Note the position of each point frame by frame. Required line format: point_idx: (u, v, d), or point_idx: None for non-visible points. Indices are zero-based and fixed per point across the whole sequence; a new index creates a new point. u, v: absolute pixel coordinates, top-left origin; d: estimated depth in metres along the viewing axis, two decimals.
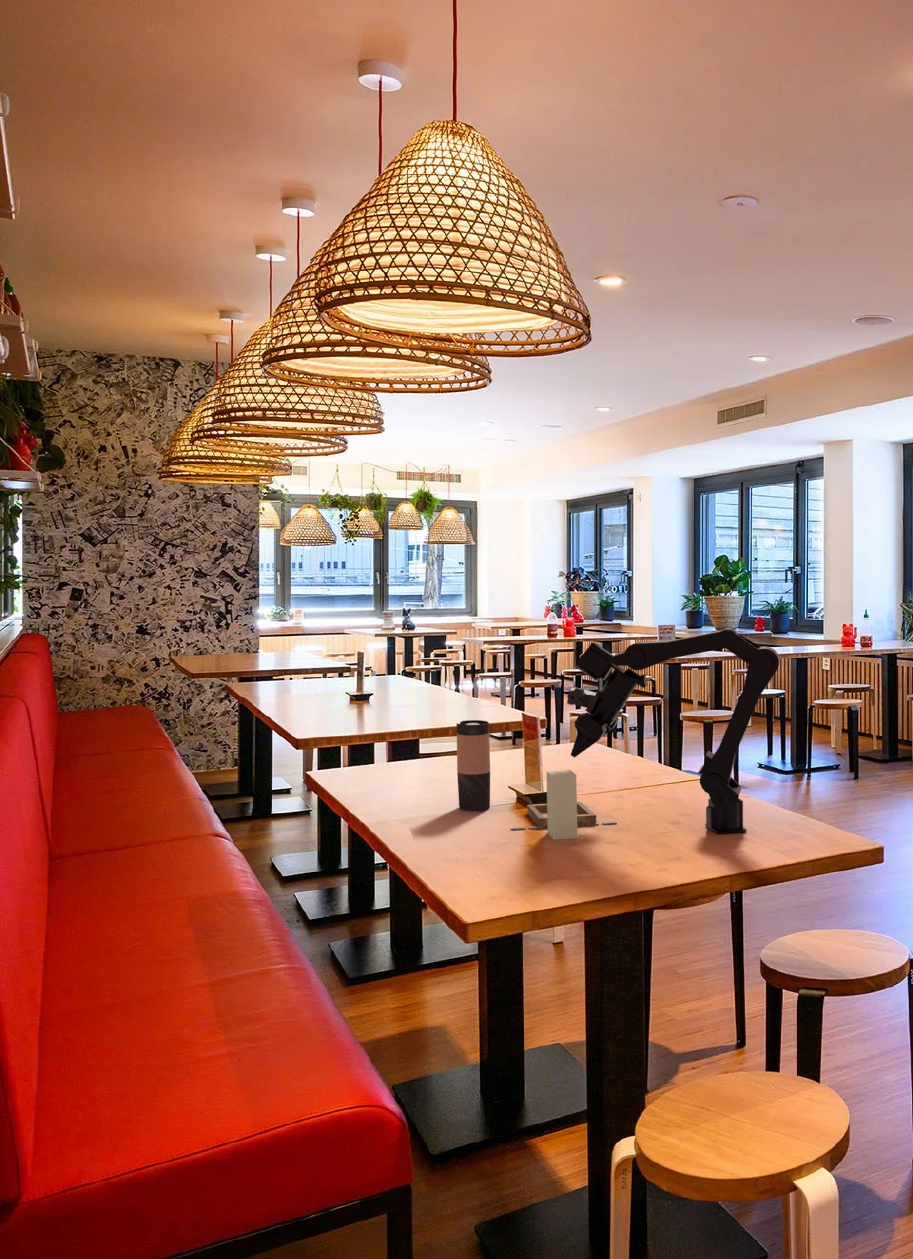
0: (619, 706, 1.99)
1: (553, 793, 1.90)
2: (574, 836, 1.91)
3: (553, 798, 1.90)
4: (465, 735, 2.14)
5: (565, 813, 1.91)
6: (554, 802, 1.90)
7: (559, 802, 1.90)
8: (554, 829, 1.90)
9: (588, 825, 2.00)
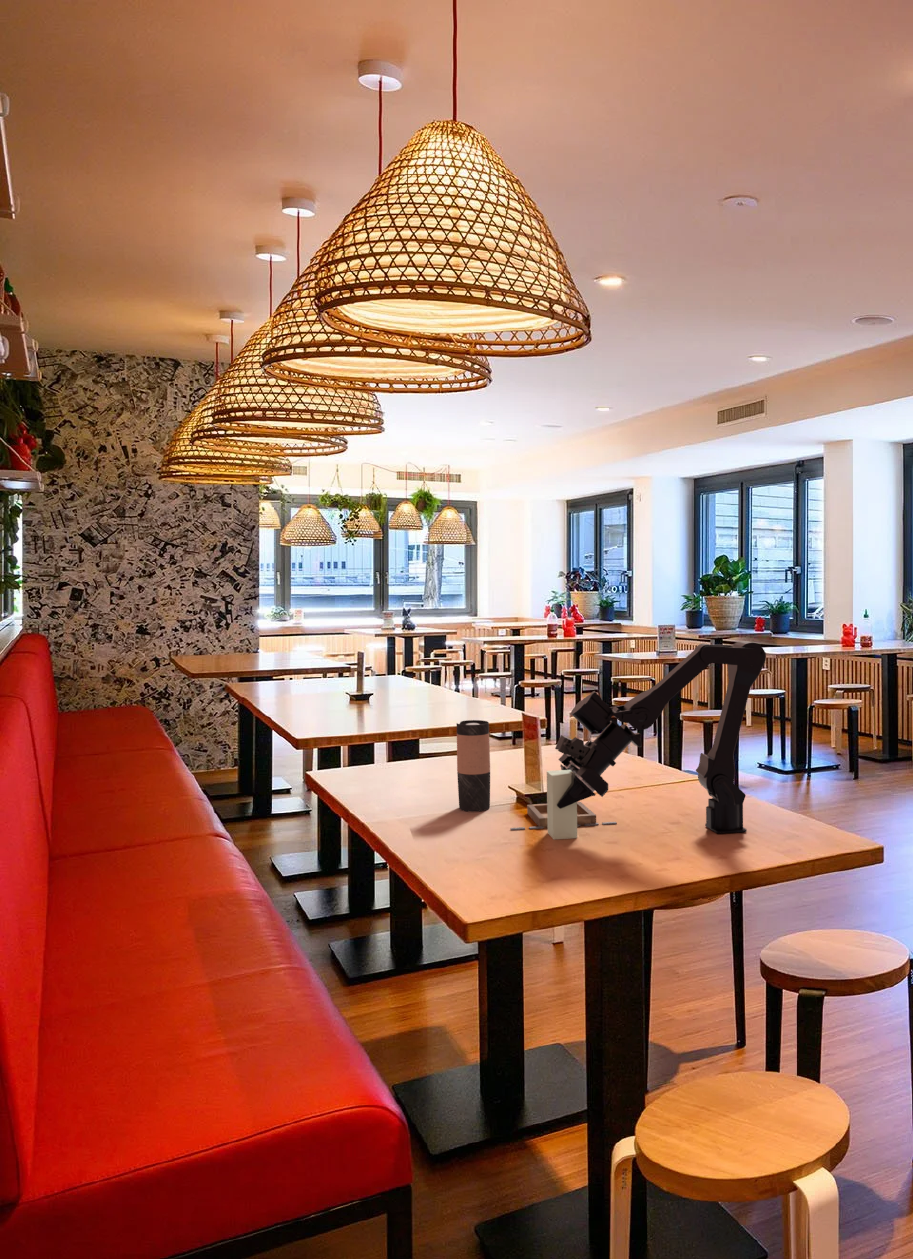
0: (613, 763, 1.92)
1: (553, 793, 1.90)
2: (574, 836, 1.91)
3: (553, 798, 1.90)
4: (465, 735, 2.14)
5: (565, 813, 1.91)
6: (554, 802, 1.90)
7: None
8: (554, 829, 1.90)
9: (588, 825, 2.00)
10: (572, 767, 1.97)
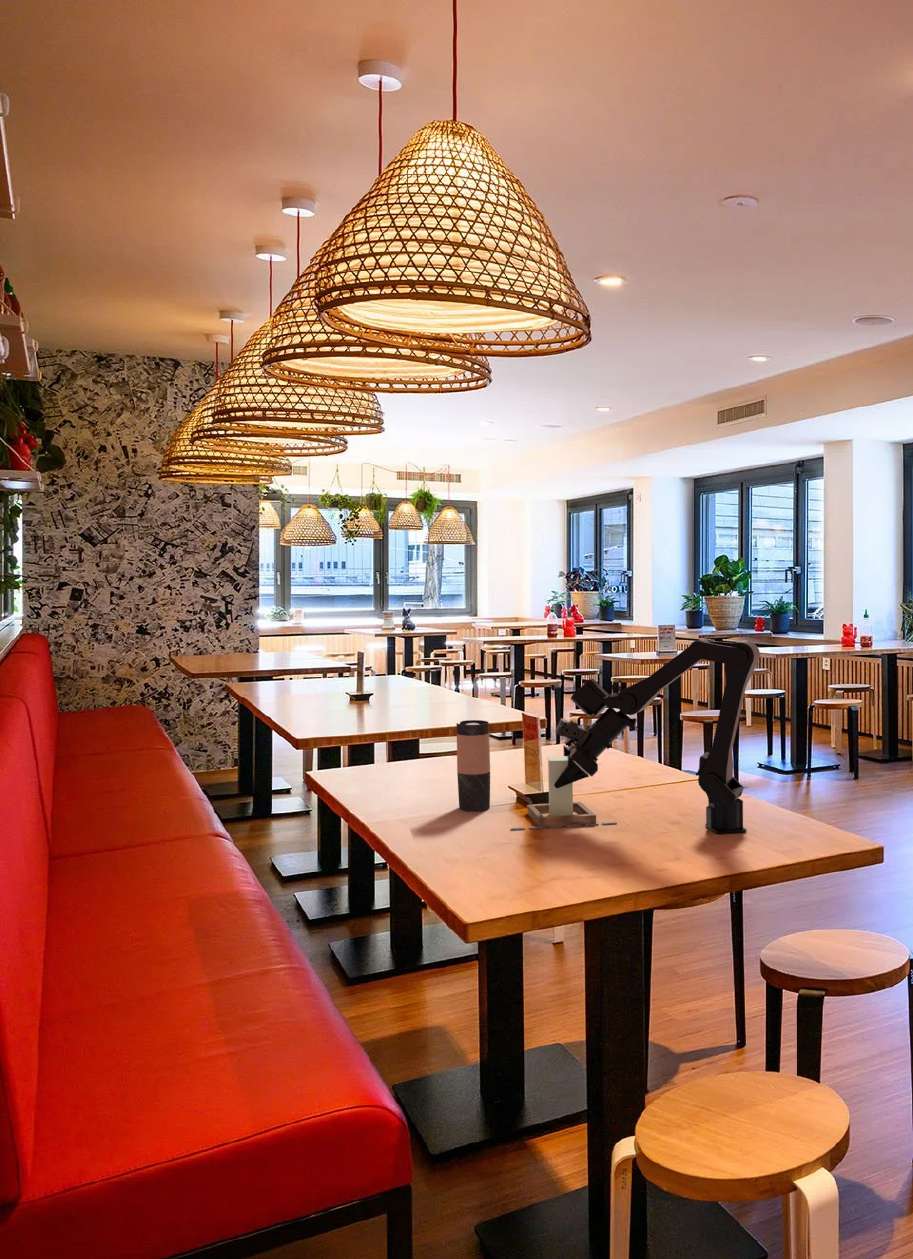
0: (608, 745, 2.03)
1: (550, 777, 2.04)
2: None
3: (550, 781, 2.04)
4: (465, 735, 2.14)
5: (561, 796, 2.04)
6: (551, 785, 2.04)
7: None
8: (551, 810, 2.04)
9: (588, 825, 2.00)
10: None
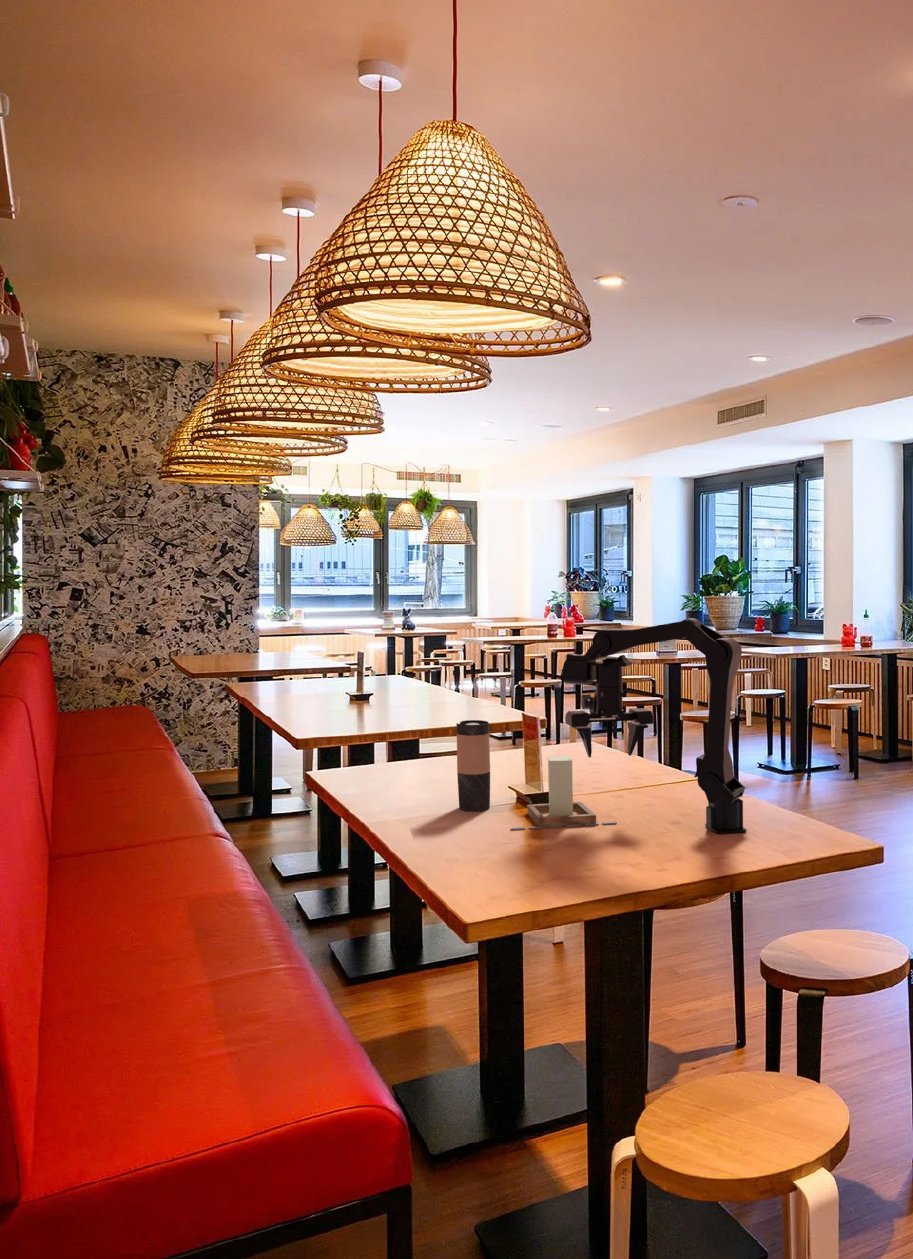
0: (602, 693, 2.04)
1: (550, 777, 2.04)
2: None
3: (550, 781, 2.04)
4: (465, 735, 2.14)
5: (561, 796, 2.04)
6: (551, 785, 2.04)
7: (555, 785, 2.04)
8: (551, 810, 2.04)
9: (588, 825, 2.00)
10: None
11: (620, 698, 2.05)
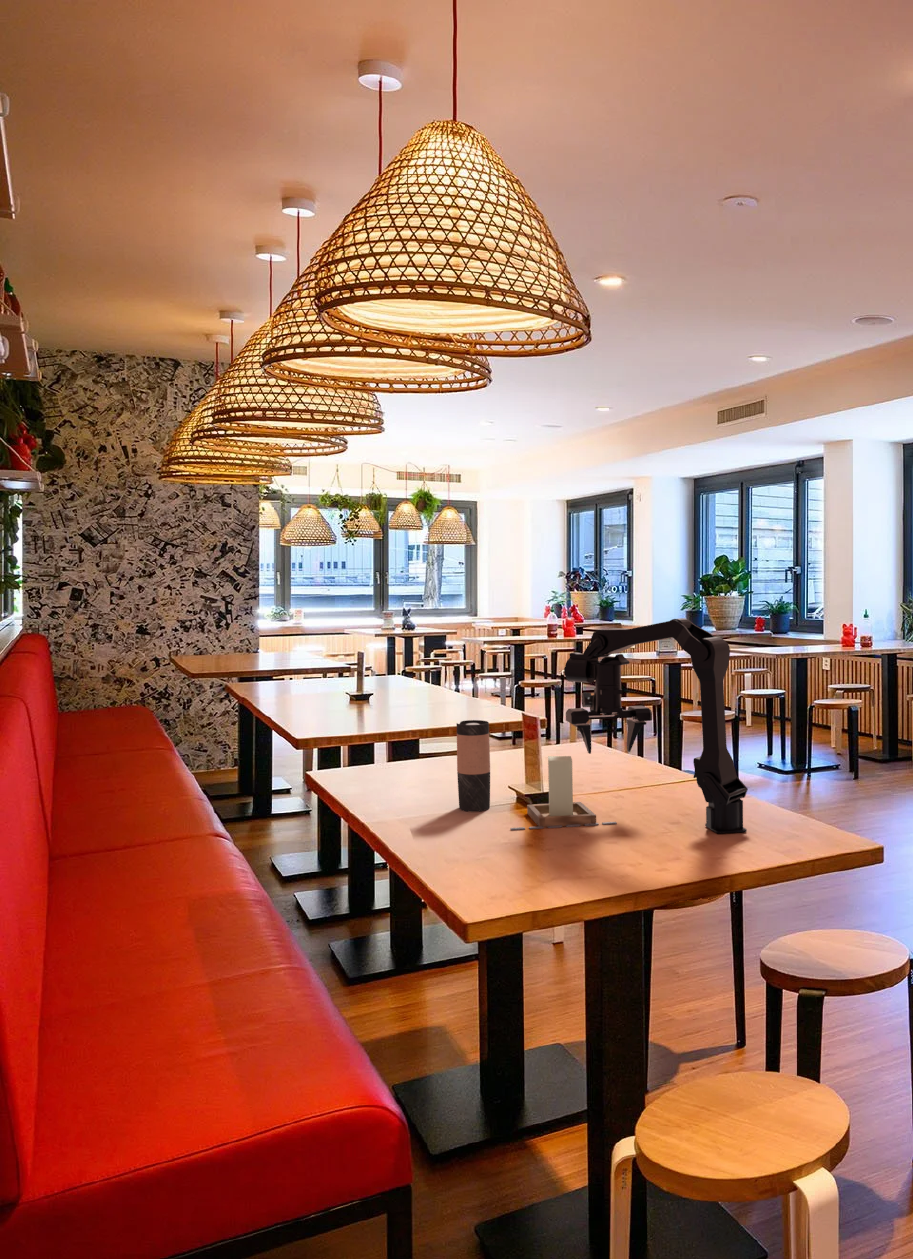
0: (601, 691, 2.10)
1: (550, 777, 2.04)
2: None
3: (550, 781, 2.04)
4: (465, 735, 2.14)
5: (561, 796, 2.04)
6: (551, 785, 2.04)
7: (555, 785, 2.04)
8: (551, 810, 2.04)
9: (588, 825, 2.00)
10: None
11: (619, 696, 2.11)
